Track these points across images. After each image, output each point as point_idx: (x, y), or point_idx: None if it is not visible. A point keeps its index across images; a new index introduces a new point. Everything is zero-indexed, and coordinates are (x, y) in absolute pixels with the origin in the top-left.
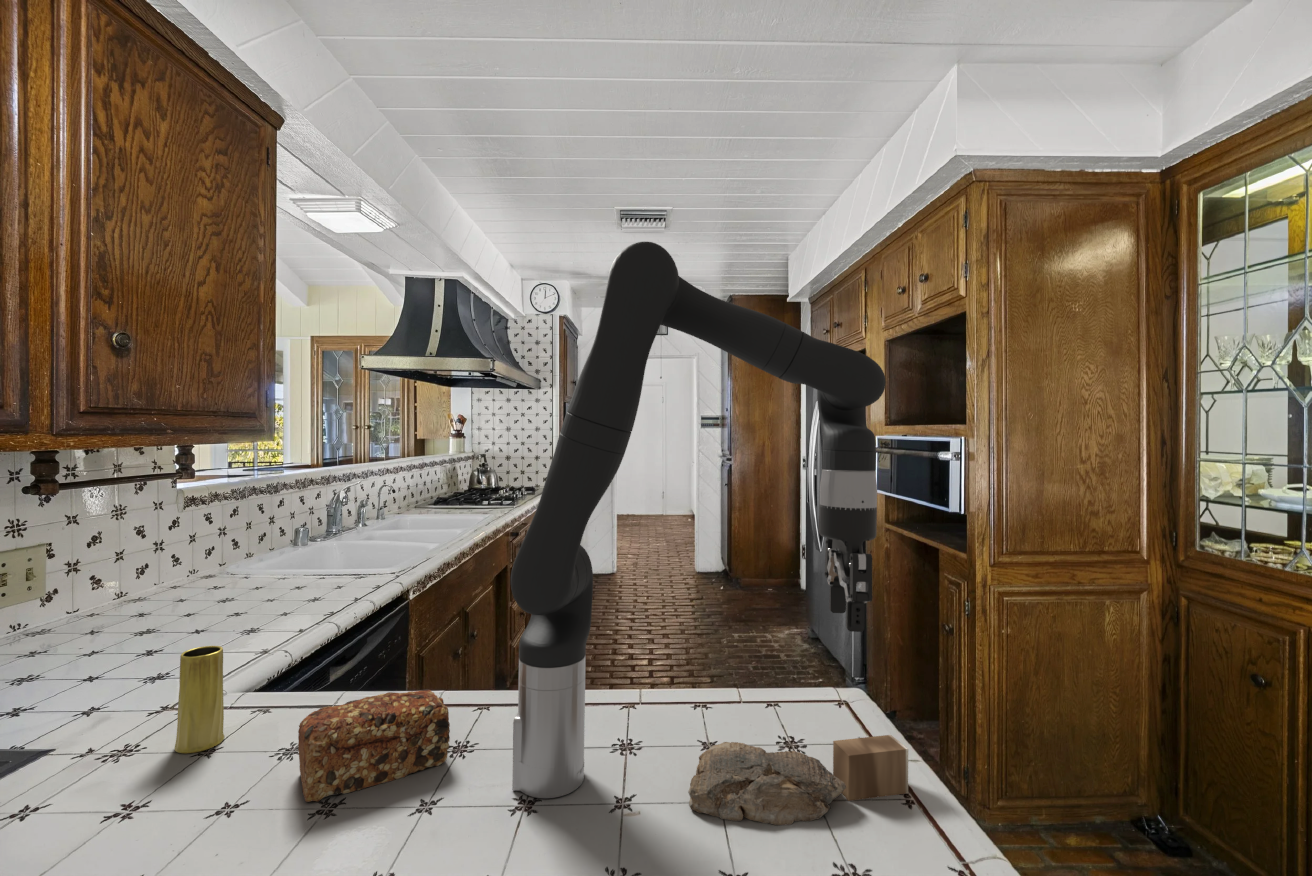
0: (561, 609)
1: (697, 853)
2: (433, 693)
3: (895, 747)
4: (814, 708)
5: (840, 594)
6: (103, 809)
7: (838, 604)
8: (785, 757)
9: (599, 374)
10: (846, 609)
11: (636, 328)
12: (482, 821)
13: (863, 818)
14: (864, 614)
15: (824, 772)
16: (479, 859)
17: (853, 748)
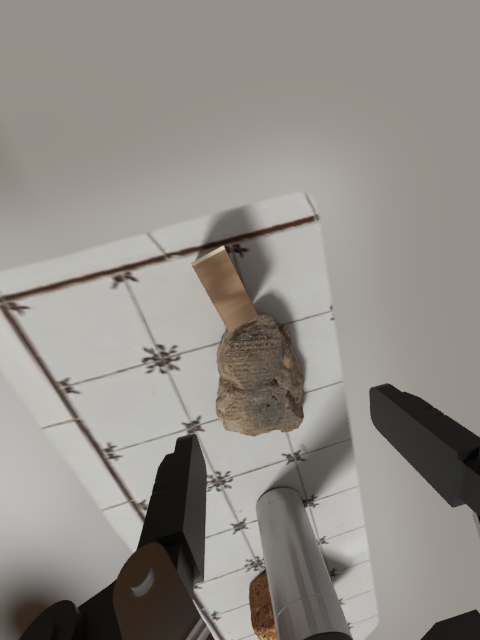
0: None
1: (335, 402)
2: (271, 637)
3: (224, 261)
4: (50, 339)
5: (195, 509)
6: None
7: (200, 473)
8: (249, 371)
9: None
10: (426, 475)
11: None
12: (327, 513)
13: (273, 294)
14: (430, 413)
15: (261, 334)
16: (356, 497)
17: (241, 311)
